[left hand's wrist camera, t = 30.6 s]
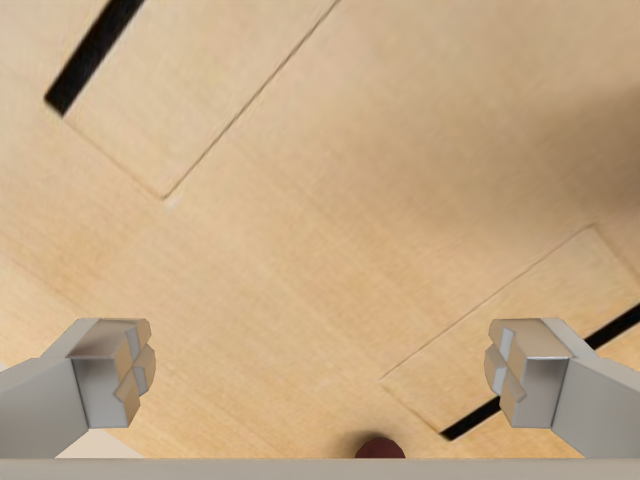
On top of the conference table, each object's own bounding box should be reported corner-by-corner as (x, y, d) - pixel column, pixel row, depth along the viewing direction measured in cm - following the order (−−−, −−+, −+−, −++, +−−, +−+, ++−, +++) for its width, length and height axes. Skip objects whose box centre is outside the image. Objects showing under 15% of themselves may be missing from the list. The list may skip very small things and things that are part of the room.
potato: (344, 460, 62) (346, 506, 55) (362, 420, 59) (367, 464, 53) (391, 471, 63) (400, 518, 56) (411, 433, 60) (423, 477, 53)
